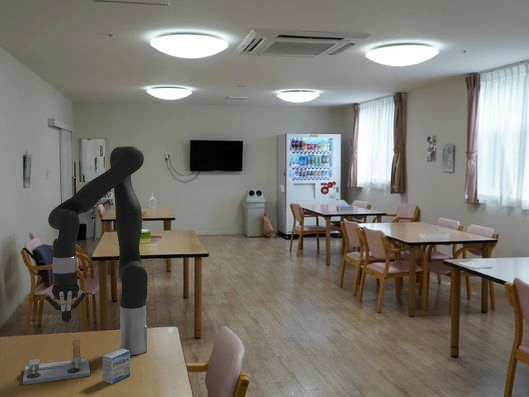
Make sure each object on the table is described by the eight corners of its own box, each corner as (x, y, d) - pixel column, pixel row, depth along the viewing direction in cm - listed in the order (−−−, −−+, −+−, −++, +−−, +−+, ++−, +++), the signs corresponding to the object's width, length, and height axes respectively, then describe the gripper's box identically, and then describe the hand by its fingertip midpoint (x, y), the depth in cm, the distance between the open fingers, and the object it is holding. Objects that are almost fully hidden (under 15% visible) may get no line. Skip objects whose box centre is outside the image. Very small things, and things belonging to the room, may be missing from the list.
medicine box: (111, 385, 162) (111, 358, 161) (102, 381, 164) (101, 355, 164) (130, 376, 169) (130, 350, 168) (121, 372, 171) (120, 347, 170)
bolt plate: (88, 361, 179) (88, 356, 179) (90, 375, 168) (89, 369, 168) (25, 369, 172) (25, 363, 172) (22, 384, 161) (22, 378, 161)
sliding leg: (81, 360, 176) (80, 335, 175) (81, 368, 170) (81, 343, 169) (71, 362, 175) (71, 336, 174) (72, 370, 168) (71, 344, 168)
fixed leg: (39, 366, 171) (39, 359, 171) (38, 374, 165) (38, 367, 165) (29, 367, 170) (29, 360, 170) (28, 376, 164) (28, 368, 164)
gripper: (86, 265, 173) (87, 315, 174) (43, 268, 168) (45, 320, 170) (86, 270, 166) (88, 322, 167) (42, 273, 161) (44, 327, 163)
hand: (66, 321), depth 169 cm, fingers closed
